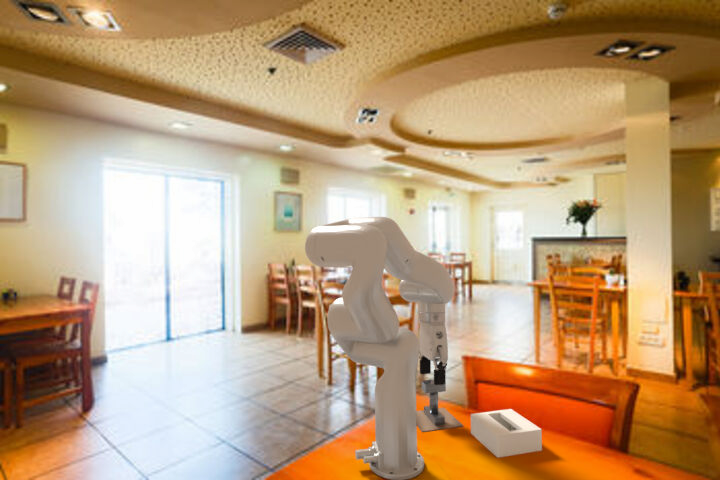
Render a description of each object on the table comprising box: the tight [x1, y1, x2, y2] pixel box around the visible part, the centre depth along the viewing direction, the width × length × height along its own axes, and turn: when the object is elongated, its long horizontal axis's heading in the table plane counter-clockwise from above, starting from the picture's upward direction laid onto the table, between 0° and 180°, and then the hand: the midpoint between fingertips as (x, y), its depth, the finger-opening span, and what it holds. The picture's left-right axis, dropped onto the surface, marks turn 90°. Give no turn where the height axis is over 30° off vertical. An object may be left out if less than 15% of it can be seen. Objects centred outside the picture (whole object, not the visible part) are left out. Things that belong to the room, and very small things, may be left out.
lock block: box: [470, 408, 543, 458], centre depth 98 cm, size 12×12×6 cm
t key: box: [421, 379, 447, 426], centre depth 111 cm, size 8×6×10 cm
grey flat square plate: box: [416, 407, 464, 433], centre depth 111 cm, size 12×12×1 cm
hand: (432, 378), depth 110 cm, fingers open, 9 cm apart
